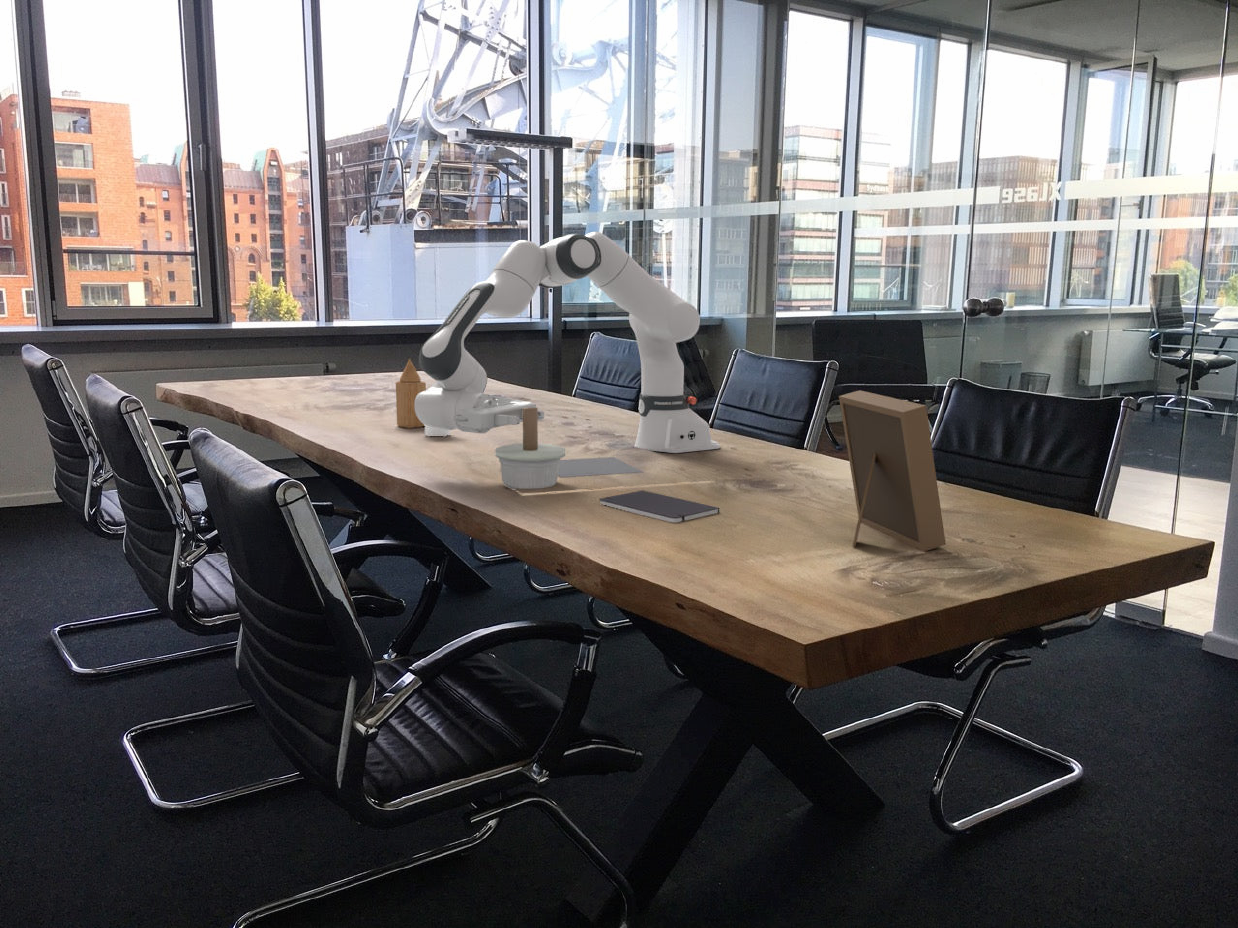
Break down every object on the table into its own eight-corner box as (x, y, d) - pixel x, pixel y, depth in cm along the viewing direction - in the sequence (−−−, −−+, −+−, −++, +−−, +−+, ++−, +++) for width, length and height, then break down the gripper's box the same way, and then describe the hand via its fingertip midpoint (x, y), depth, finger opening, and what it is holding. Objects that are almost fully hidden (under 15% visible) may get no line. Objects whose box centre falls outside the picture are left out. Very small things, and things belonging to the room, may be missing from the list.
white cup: (436, 438, 286) (435, 402, 284) (417, 435, 291) (416, 399, 289) (457, 434, 292) (456, 399, 291) (437, 431, 297) (437, 397, 295)
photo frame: (879, 520, 198) (886, 389, 194) (945, 550, 178) (955, 404, 173) (808, 525, 194) (814, 391, 189) (868, 556, 174) (876, 407, 169)
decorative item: (396, 426, 307) (394, 358, 303) (415, 424, 311) (413, 356, 308) (408, 428, 302) (406, 359, 298) (427, 426, 307) (426, 358, 303)
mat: (613, 459, 258) (613, 456, 257) (643, 474, 239) (643, 471, 239) (535, 463, 251) (535, 461, 250) (560, 479, 232) (560, 477, 232)
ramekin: (573, 486, 226) (573, 455, 225) (527, 495, 217) (527, 462, 215) (532, 477, 235) (531, 447, 234) (486, 486, 226) (486, 454, 224)
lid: (552, 447, 234) (552, 402, 232) (574, 458, 220) (574, 411, 219) (487, 451, 229) (486, 404, 227) (506, 463, 215) (505, 414, 213)
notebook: (719, 515, 203) (642, 497, 218) (719, 507, 203) (642, 490, 218) (674, 526, 194) (597, 506, 209) (674, 518, 194) (597, 498, 209)
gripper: (448, 403, 220) (501, 408, 213) (504, 394, 238) (555, 398, 231) (448, 433, 221) (502, 439, 215) (504, 421, 239) (555, 426, 232)
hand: (530, 418), depth 223 cm, fingers open, 8 cm apart
